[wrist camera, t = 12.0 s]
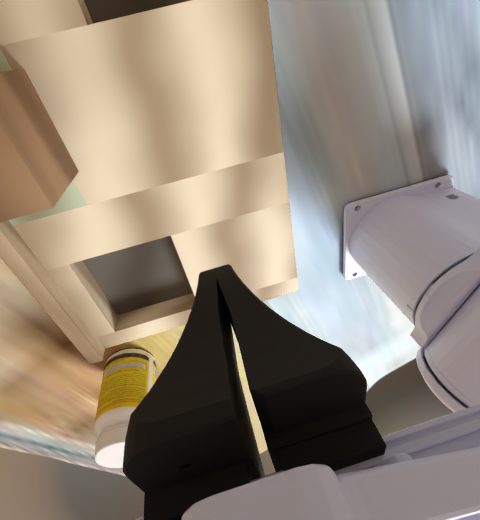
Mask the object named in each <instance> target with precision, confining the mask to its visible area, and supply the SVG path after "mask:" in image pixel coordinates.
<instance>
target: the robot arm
mask: <svg viewBox="0 0 480 520" xmlns="http://www.w3.org/2000/svg"><path fill="white" fill-rule="evenodd" d="M453 183H454V177H453V176H451V175H445V176H442V177H438V178H435V179H431V180H428V181H424V182H421V183H418V184H414V185H411V186H407V187H404V188H400V189H397V190H393V191H390V192H386V193H383V194H379V195H376V196H372V197H369V198H365V199H362V200H358V201H355V202H351V203H349V204H347V205H346V206H345V208H344V244H343V277H344V278H345V279H347V280H350V279H353V278H356V277H360V276H363V275H366V274H367V275H368V276H369V277H370V278H371V279H372V280H373V281H374V282H375V283H376V285H377V286H378V287H379V288H380V289H381V290H382V291H383V292H384V293H385V294H386V295H387V296H388V297H389V299H390V300H391V301H392V302H393V303H394V304H395V305H396V306H397V307H398V308H399V309H400V310H401V311H402V313H403V314H404V315H405V316H406V317H407V318H408V319H409V320H410V321H411V322H412V323H413V324H414V325H415V328H414V330H413V331H412V333H411V336H412V338H413V339H414V340H415V341H416V342H417V343H418V344H419V345H420V347H421V348H420V350H419V351H418V353H417V356H416V357H417V364H418V368H419V370H420V372H421V374H422V376H423V378H424V380H425V382H426V383H427V385H428V386H429V388H430V389H431V390H432V392H433V393H434V394H435V395H436V396H437V397H438V398H439V400H440V401H441V402H443V403H444V404H445V405H446V406H447V407H448V408H449V409H451V410H452V411H453V412H454V413H451V414H448V415H445V416H442V417H439V418H436V419H433V420H430V421H427V422H424V423H421V424H418V425H415V426H412V427H409V428H406V429H404V430H400V431H397V432H394V433H391V434H388V435H385V436H383V437H381V435H380V433H379V432H378V430H377V428H376V426H375V424H374V423H373V421H372V414H371V412H370V410H369V408H368V407H367V405H366V403H365V400H366V390H367V382H366V379H365V377H364V375H363V374H362V372H361V371H360V369H359V368H358V367H357V365H356V364H355V363H354V362H353V361H352V359H351V358H350V357H349V356H348V355H347V354H346V353H345V352H344V351H343V350H342V349H341V348H339V347H337V346H334V345H332V344H330V343H327V342H325V341H323V340H321V339H319V338H317V337H315V336H313V335H311V334H309V333H307V332H305V331H304V330H302V329H300V328H299V327H297V326H295V325H293V324H292V323H290V322H288V321H287V320H286V319H284V318H283V317H281V316H280V315H278V314H277V313H276V312H274V311H273V310H272V309H270V308H269V307H268V306H267V305H266V304H264V303H263V302H262V301H261V300H260V299H259V298H258V297H257V296H256V295H255V294H254V293H253V292H252V291H251V290H250V289H249V288H248V287H247V286H246V285H245V284H244V283H243V282H242V280H241V279H240V278H239V277H238V275H237V274H236V273H235V271H234V270H233V268H232V266H231V265H229V264H227V265H223V266H220V267H216V268H213V269H210V270H206V271H203V272H200V274H199V278H198V285H197V290H196V295H195V298H194V302H193V306H192V309H191V312H190V315H189V318H188V321H187V323H186V326H185V329H184V331H183V333H182V336H181V338H180V340H179V342H178V344H177V346H176V348H175V350H174V352H173V354H172V356H171V358H170V359H169V361H168V363H167V365H166V366H165V368H164V369H163V371H162V373H161V374H160V376H159V377H158V379H157V380H156V382H155V383H154V385H153V386H152V388H151V389H150V391H149V392H148V393H147V394H146V396H145V397H144V398H143V400H142V401H141V402H140V404H139V405H138V406H137V407H136V409H135V410H134V411H133V412H132V414H131V415H130V419H129V424H128V428H127V433H126V438H125V446H124V457H123V472H124V474H125V475H126V477H127V478H129V479H130V480H131V481H132V482H133V483H134V484H135V485H137V486H138V487H139V488H140V489H141V490H142V491H144V492H145V501H144V517H141V518H138V519H135V520H480V200H479V199H477V198H475V197H473V196H470V195H468V194H466V193H464V192H462V191H459V190H457V189H455V188H453ZM436 184H437V185H436ZM435 185H436V186H435ZM356 206H358V207H357V209H355V207H356ZM354 272H355V273H354ZM353 273H354V274H353ZM231 325H232V327H233V330H234V332H235V335H236V338H237V340H238V343H239V347H240V351H241V355H242V360H243V364H244V368H245V372H246V377H247V381H248V385H249V389H250V392H251V395H252V398H253V401H254V404H255V407H256V411H257V414H258V417H259V420H260V423H261V426H262V429H263V433H264V437H265V440H266V444H267V448H268V451H269V453H270V456H271V459H272V462H273V465H274V468H275V471H276V472H275V473H273V474H269V475H266V476H265V474H264V470H263V466H262V462H261V459H260V455H259V451H258V447H257V443H256V440H255V436H254V432H253V428H252V424H251V420H250V416H249V413H248V409H247V405H246V401H245V397H244V393H243V389H242V385H241V381H240V377H239V372H238V367H237V360H236V353H235V347H234V340H233V334H232V328H231Z"/></svg>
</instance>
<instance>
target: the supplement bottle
mask: <svg viewBox="0 0 480 520" xmlns="http://www.w3.org/2000/svg"><path fill="white" fill-rule="evenodd" d="M155 382H156V360H155V358H154V357H153V356H152V355H151V354H150V353H148V352H146V351H144V350H140V349H125V350H121V351H118V352H116V353H115V354H113V355H112V356H110V357H109V358H108V360H107V361H106V364H105V367H104V373H103V379H102V384H101V390H100V396H99V401H98V407H97V413H96V418H95V432H96V434H97V436H98V438H97V441H96V448H95V461H96V462H97V463H98V464H99V465H101V466H104V467H109V468H121V467H123V457H124V446H125V438H126V433H127V428H128V424H129V419H130V415H131V414H132V412H133V411H134V410H135V409H136V407H137V406H138V405H139V404H140V402H141V401H142V400H143V398H144V397H145V396H146V394H147V393H148V392H149V391H150V389H151V388H152V386H153V385H154V383H155Z"/></svg>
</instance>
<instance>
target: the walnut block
mask: <svg viewBox="0 0 480 520" xmlns="http://www.w3.org/2000/svg"><path fill="white" fill-rule="evenodd" d="M78 172H79V171H78V169H77V167H76V165H75V163H74V161H73V159H72V157H71V156H70V154H69V152H68V150H67V148H66V146H65V144H64V142H63V141H62V139H61V137H60V135H59V133H58V131H57V129H56V127H55V126H54V124H53V122H52V120H51V118H50V116H49V114H48V112H47V110H46V109H45V107H44V105H43V103H42V101H41V99H40V97H39V95H38V94H37V92H36V90H35V88H34V86H33V84H32V82H31V80H30V78H29V77H28V75H27V73H26V71H25V69H21V70H12V71H3V72H0V222H4V221H7V220H11V219H15V218H18V217H22V216H26V215H29V214H33V213H37V212H40V211H44V210H48V209H52V208H54V206H55V205H56V203H57V202H58V200H59V199H60V198H61V196H62V195H63V193H64V192H65V191H66V189H67V188H68V186H69V185H70V183H71V182H72V181H73V179H74V178H75V176H76V175H77V173H78Z"/></svg>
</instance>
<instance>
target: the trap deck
mask: <svg viewBox="0 0 480 520" xmlns="http://www.w3.org/2000/svg"><path fill="white" fill-rule="evenodd" d="M21 69H25V71H26V73H27V75H28V77H29V78H30V80H31V82H32V84H33V86H34V88H35V90H36V92H37V94H38V95H39V97H40V99H41V101H42V103H43V105H44V107H45V109H46V110H47V112H48V114H49V116H50V118H51V120H52V122H53V124H54V126H55V127H56V129H57V131H58V133H59V135H60V137H61V139H62V141H63V142H64V144H65V146H66V148H67V150H68V152H69V154H70V156H71V157H72V159H73V161H74V163H75V165H76V167H77V169H78V171H79V172H78V173H77V175H76V176H75V178H74V179H73V181H72V182H71V183H70V185H69V186H68V188H67V189H66V191H65V192H64V193H63V195H62V196H61V198H60V199H59V200H58V202H57V203H56V205H55V206H54V208H52V209H48V210H44V211H40V212H37V213H33V214H29V215H26V216H22V217H18V218H15V219H11V220H7V221H4V222H0V257H1V259H2V260H3V261H4V262H5V263H6V265H7V266H8V267H9V268H10V269H11V271H12V272H13V273H14V274H15V275H16V276H17V278H18V279H19V280H20V281H21V282H22V284H23V285H24V286H25V287H26V288H27V290H28V291H29V292H30V293H31V294H32V296H33V297H34V298H35V299H36V300H37V301H38V303H39V304H40V305H41V306H42V307H43V309H44V310H45V311H46V312H47V313H48V315H49V316H50V317H51V318H52V319H53V320H54V322H55V323H56V324H57V325H58V326H59V328H60V329H61V330H62V331H63V332H64V334H65V335H66V336H67V337H68V338H69V340H70V341H71V342H72V343H73V344H74V345H75V347H76V348H77V349H78V350H79V351H80V353H81V354H82V355H83V356H84V357H85V359H86V360H87V361H88V362H89V363H90V364H93V363H96V362H100V361H103V357H104V351H105V349H106V348H109V347H112V346H116V345H119V344H122V343H126V342H129V341H132V340H136V339H139V338H142V337H146V336H149V335H152V334H156V333H159V332H162V331H166V330H169V329H172V328H176V327H179V326H182V325H186V323H187V321H188V318H189V315H190V312H191V309H192V306H193V302H194V298H195V295H196V290H197V285H198V278H199V274H200V272H203V271H206V270H210V269H213V268H216V267H220V266H223V265H227V264H229V265H231V266H232V268H233V270H234V271H235V273H236V274H237V275H238V277H239V278H240V279H241V280H242V282H243V283H244V284H245V285H246V286H247V287H248V288H249V289H250V290H251V291H252V292H253V293H254V294H255V295H256V296H257V297H258V298H259V299H260V300H261V301H265V300H269V299H272V298H275V297H279V296H282V295H285V294H289V293H292V292H295V291H298V290H299V288H298V279H297V270H296V260H295V251H294V242H293V233H292V223H291V214H290V205H289V196H288V186H287V177H286V168H285V159H284V150H283V140H282V131H281V122H280V113H279V103H278V94H277V85H276V76H275V67H274V57H273V48H272V39H271V30H270V20H269V11H268V2H267V0H0V72H3V71H12V70H21Z"/></svg>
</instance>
